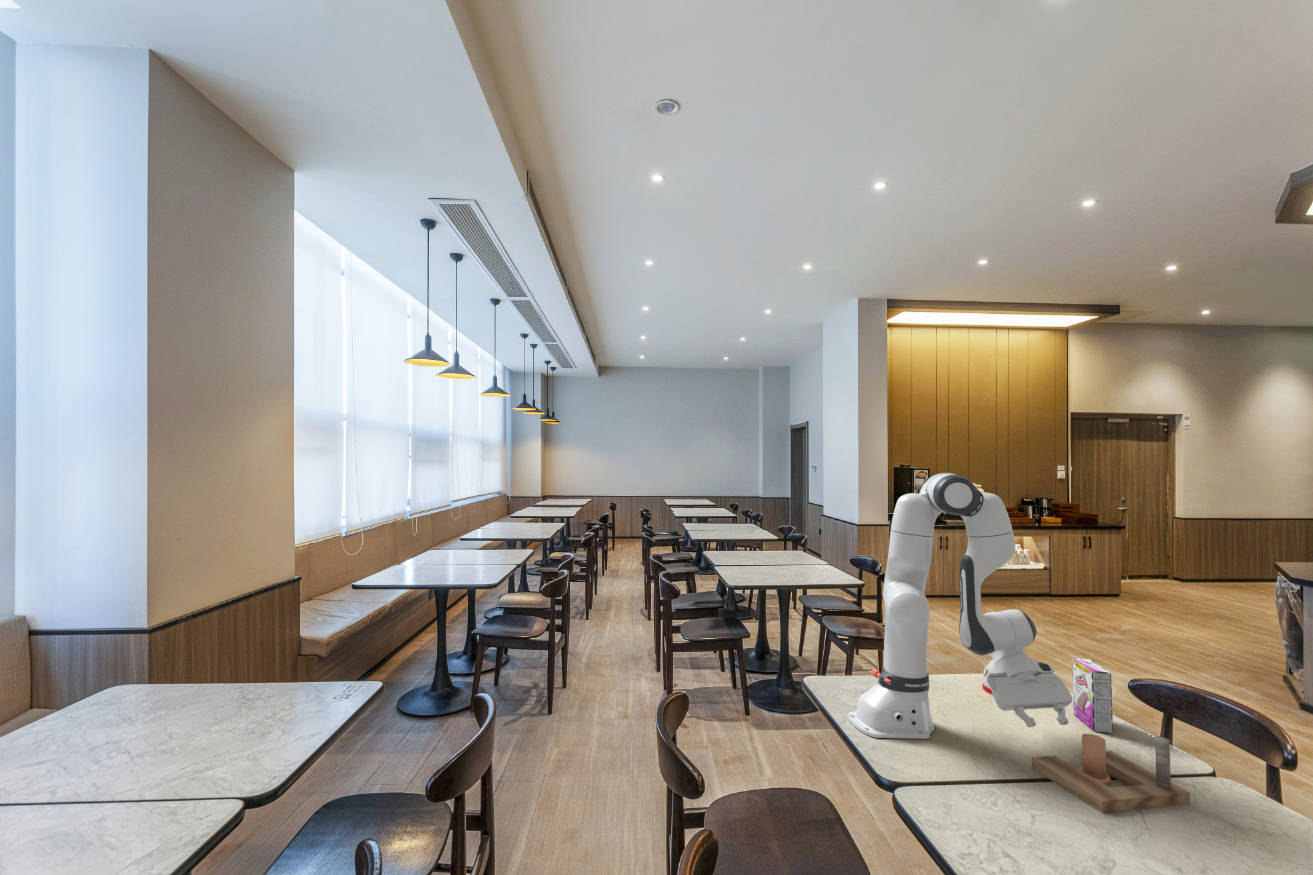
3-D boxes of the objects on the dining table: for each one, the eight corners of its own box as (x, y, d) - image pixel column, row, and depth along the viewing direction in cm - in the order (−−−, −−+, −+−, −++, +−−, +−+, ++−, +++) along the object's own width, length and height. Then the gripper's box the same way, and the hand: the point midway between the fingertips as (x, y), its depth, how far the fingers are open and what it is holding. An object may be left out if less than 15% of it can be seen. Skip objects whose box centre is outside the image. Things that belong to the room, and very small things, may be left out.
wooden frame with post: (1102, 812, 120) (1100, 751, 120) (1032, 767, 137) (1031, 714, 138) (1190, 803, 123) (1188, 744, 124) (1110, 760, 141) (1109, 709, 142)
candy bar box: (1072, 714, 167) (1071, 657, 168) (1091, 716, 166) (1090, 658, 167) (1093, 732, 156) (1091, 670, 157) (1114, 734, 155) (1112, 672, 156)
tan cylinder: (1095, 785, 130) (1094, 745, 130) (1071, 771, 136) (1071, 732, 136) (1117, 783, 131) (1116, 743, 131) (1093, 769, 137) (1092, 731, 137)
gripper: (989, 668, 152) (1019, 722, 142) (1057, 664, 155) (1090, 717, 145) (977, 679, 156) (1005, 732, 146) (1043, 675, 160) (1075, 727, 150)
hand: (1048, 725), depth 146 cm, fingers open, 8 cm apart
